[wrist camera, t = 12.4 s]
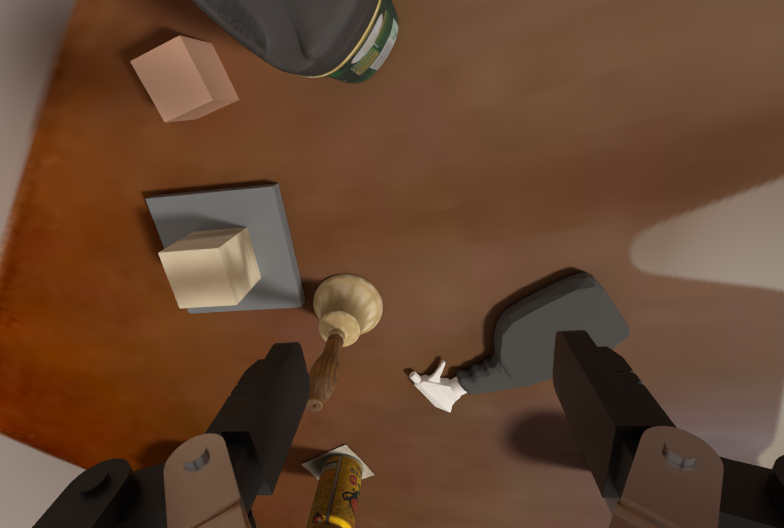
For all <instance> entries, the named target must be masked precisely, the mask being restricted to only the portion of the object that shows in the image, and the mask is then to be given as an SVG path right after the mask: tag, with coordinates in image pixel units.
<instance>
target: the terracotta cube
mask: <svg viewBox="0 0 784 528" xmlns="http://www.w3.org/2000/svg"><path fill="white" fill-rule="evenodd" d="M130 62H131V64H132V66H133V68H134V69H135V71H136V73H137V75H138V76H139V78H140V80H141V82H142V83H143V85H144V87H145V89H146V90H147V92H148V94H149V96H150V97H151V99H152V101H153V102H154V104H155V106H156V108H157V109H158V111H159V113H160V115H161V116H162V118H163V120H164V122H175V121H184V120H194V119H198V118H200V117H202V116H205V115H207V114H209V113H211V112H213V111H215V110H218V109H220V108H222V107H224V106H226V105H229V104H231V103H233V102H235V101H237V100H239V98H238V96H237V94H236V92H235V90H234V88H233V86H232V84H231V82H230V80H229V78H228V76H227V73H226V71H225V69H224V67H223V65H222V63H221V61H220V59H219V57H218V55H217V53H216V51H215V49H214V47H213V45H212V43H208V42H204V41H200V40H196V39H192V38H188V37H184V36H180V35H179V36H178V37H176V38H174V39H172V40H170V41H168V42H166V43H164V44H162V45H160V46H158V47H156V48H154V49H153V50H151V51H149V52H147V53H145V54H143V55H141V56H139V57H137V58H135V59H133V60H131V61H130Z"/></svg>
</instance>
